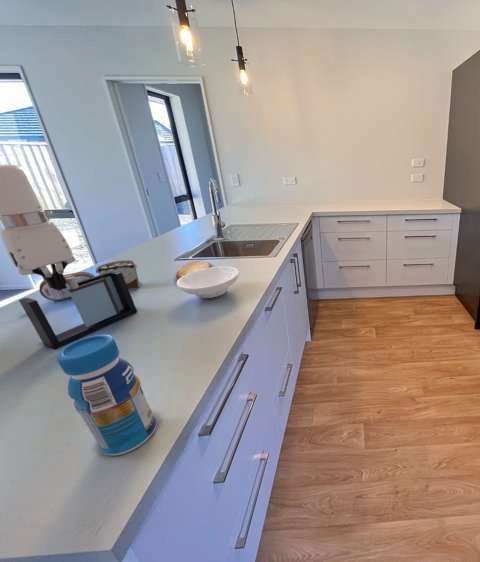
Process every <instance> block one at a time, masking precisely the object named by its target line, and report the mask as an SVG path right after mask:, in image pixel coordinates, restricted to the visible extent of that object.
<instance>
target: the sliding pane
mask: <svg viewBox="0 0 480 562" xmlns="http://www.w3.org/2000/svg"><path fill="white" fill-rule="evenodd" d="M65 280H66V282H67V284H68V286H69V288H70V289H68V292H69V293H70V295H71V297H72V298H71V300H72V301H73V304H74V306H75V307H76V309H77V311H78V314H79V316H80V318H81V320H82V323H83V324H85V326H86V327H88V326H91V325H93V324H95V323H98V322H100V321H102V320H104V319H107V318H109V317H111V316H114V315H116V314H119V313H120V311H119V309H118V306H117V304H116V302H115V299H114V297H113V294H112V292H111V290H110V287H109V285H108V283H107V280H106V278H101V279H98V280H95V281H92V282H89V283H86V284H83V285H80V286H78V284H77V282H76V280H75V278H74V277H68V278H66V279H65Z"/></svg>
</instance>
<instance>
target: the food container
mask: <svg viewBox="0 0 480 562" xmlns="http://www.w3.org/2000/svg"><path fill="white" fill-rule="evenodd" d="M137 269H138V265H137V263H136V262H135V261H134V260H130V259H124V260H123V259H122V260H117V261H115V260H114V261H110V262H107V263H103V264H101V265H98V266H96V267H95V274H98V275H101V274H104V273H106V272H108V271H111V270H112V271H117V272H122V275H123V277H124V280H125V282H126V285H127V287H128V290H129V291H130V290H136V289H141V285H140V281H139V275H138V271H137Z"/></svg>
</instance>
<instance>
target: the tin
mask: <svg viewBox="0 0 480 562" xmlns="http://www.w3.org/2000/svg"><path fill="white" fill-rule="evenodd" d="M63 276H64V278H65V279H66V278H68V277H74V278H75V280H76V282H79V281H82V280H85V279H88V278H92V277H95V276H96V275H94V274H92V272H91V273H90V272H88V271H77V272H72V273H66V274H63ZM65 285H66V287H67V288H66V289H62V290H60V291H59V290H55V289H53V288H50V286H49V285H48V283H47V281H46V279H45V278H44V279H43V280H42V281H41V283H39V293H40V295H41V297H43V298H45V299H46V300H49V301H63V300H68V299H72V297H71V295H70V293H69V292H68V289H70V288H69V286H68V284H65Z"/></svg>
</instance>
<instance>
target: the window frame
mask: <svg viewBox="0 0 480 562" xmlns="http://www.w3.org/2000/svg"><path fill="white" fill-rule="evenodd" d="M94 276H95V277H92V278H88V279H85V280H82V281H79V282H77V284H78V286H80V285H83V284H86V283H89V282H92V281H95V280H98V279H101V278H106V280H107V283H108V285H109V287H110V290H111V292H112V294H113V297H114V299H115V302H116V304H117V306H118V309H119V311H120V313H119V314H116V315H114V316H111V317H109V318H107V319H104V320H102V321H100V322H98V323H95V324H93V325H91V326H88V327H86V326H85V324H84V323H82V324H78V325H77V326H75V327H72V328H69V329H67V330H65V331H63V332H60V333H58V334H56V333H55V331H54V329H53V328H52V326H51V324H50V322H49V321H48V319H47V316H46V315H45V313H44V311H43V310H42V307H41V305H40V304H39V302H38V300H36V299H33V298H30V297H23V298H20V299H18V301H19V303H20V305H21V307H22V308H23V311H24V312H25V314H26V315H27V318H28V319H29V321H30V322H31V325H32V326H33V327H34V329H35V331H36V334H37V335H38V337H39V338H40V340H41V342H42V344H43V345H44V347H47V348H49V349H52V350H57V349H59V348H62V347H63V346H64V347H65V346H67V345H69V344H71V343H73V342H75V341H77V340H80V339H82V338H85V337H86V336H88V335H91V334H92V333H94V332H97V331H99V330H101V329H103V328H106V327H108V326H110V325H112V324H114V323H117V322H119V321H122V320H123V319H125V318H128V317H130V316H132V315H135V314H136V313H138V310H137V307H136V305H135V303H134V300H133V298H132V294H131V293H130V290H128V287H127V285H126V282H125V280H124V277H123V275H122V272H117V271H112V270H111V271H108V272H106V273H104V274H101V275H99V274H97V275H94Z"/></svg>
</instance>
